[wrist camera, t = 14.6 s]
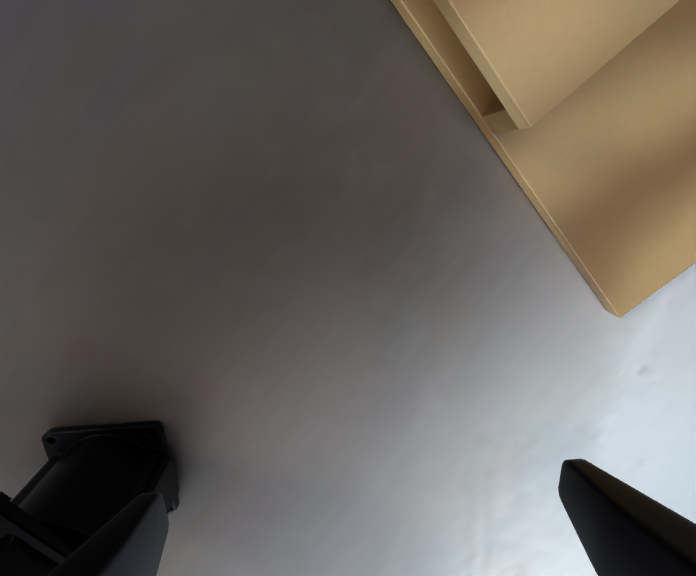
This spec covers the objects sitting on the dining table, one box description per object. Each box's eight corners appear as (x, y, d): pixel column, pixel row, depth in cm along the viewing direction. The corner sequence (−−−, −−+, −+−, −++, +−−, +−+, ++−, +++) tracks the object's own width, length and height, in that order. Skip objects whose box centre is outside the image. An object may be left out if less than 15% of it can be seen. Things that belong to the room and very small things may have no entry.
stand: (767, 193, 21) (883, 201, 16) (607, 311, 22) (675, 347, 18) (526, -310, 14) (614, -513, 10) (324, -92, 16) (325, -186, 12)
